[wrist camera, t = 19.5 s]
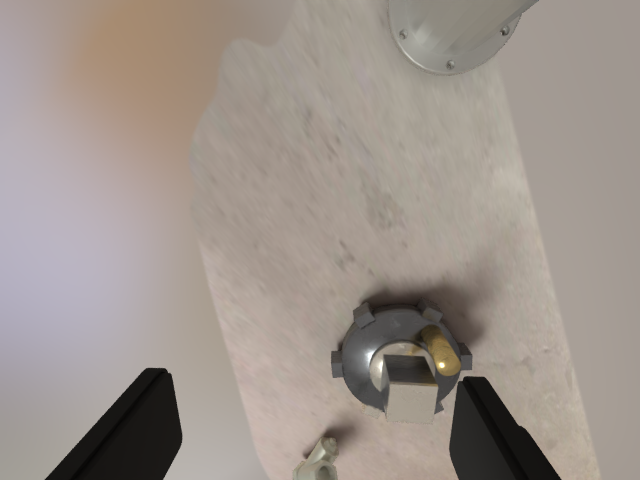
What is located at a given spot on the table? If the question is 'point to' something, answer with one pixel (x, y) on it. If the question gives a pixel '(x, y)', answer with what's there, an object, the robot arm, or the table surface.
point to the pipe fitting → (319, 462)
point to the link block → (408, 389)
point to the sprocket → (397, 350)
